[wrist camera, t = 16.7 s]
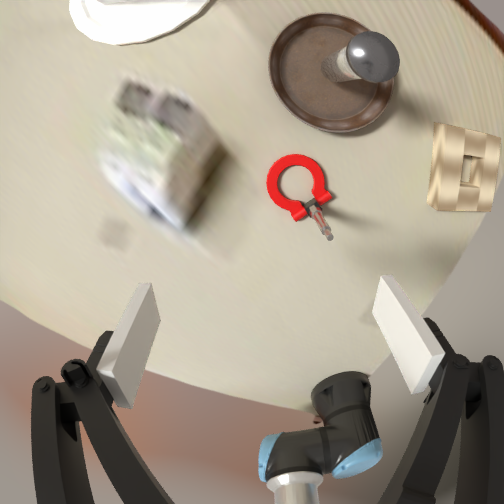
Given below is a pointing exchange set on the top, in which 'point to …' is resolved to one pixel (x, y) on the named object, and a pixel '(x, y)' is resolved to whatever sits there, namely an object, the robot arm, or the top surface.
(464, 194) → the oak hitch block
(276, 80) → the plant saucer
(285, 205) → the tow hook
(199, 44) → the top surface
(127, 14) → the dish
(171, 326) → the top surface
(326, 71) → the steel pin
